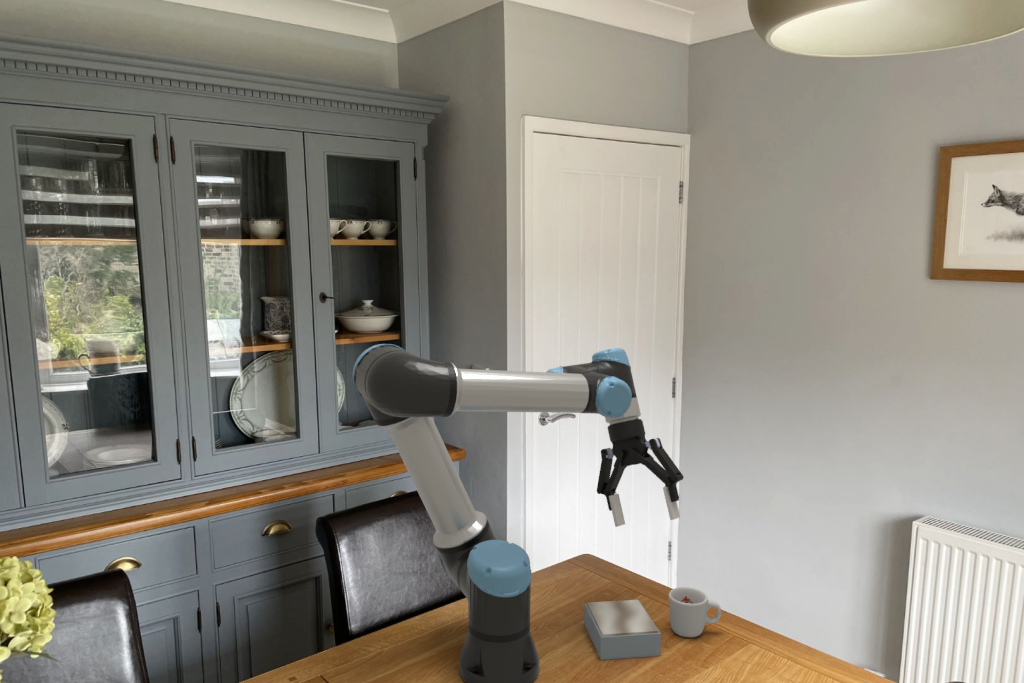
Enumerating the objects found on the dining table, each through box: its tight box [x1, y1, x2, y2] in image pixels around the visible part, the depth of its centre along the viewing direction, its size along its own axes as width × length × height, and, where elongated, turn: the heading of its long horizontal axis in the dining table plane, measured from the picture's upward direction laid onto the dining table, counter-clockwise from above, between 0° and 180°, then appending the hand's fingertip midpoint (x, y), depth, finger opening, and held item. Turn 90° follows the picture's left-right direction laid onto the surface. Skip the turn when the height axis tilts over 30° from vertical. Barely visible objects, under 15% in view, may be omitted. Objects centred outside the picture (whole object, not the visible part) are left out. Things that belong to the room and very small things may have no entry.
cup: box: [668, 586, 722, 638], centre depth 155 cm, size 11×8×8 cm
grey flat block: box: [583, 599, 662, 661], centre depth 152 cm, size 12×14×5 cm
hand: (647, 522), depth 154 cm, fingers open, 13 cm apart
